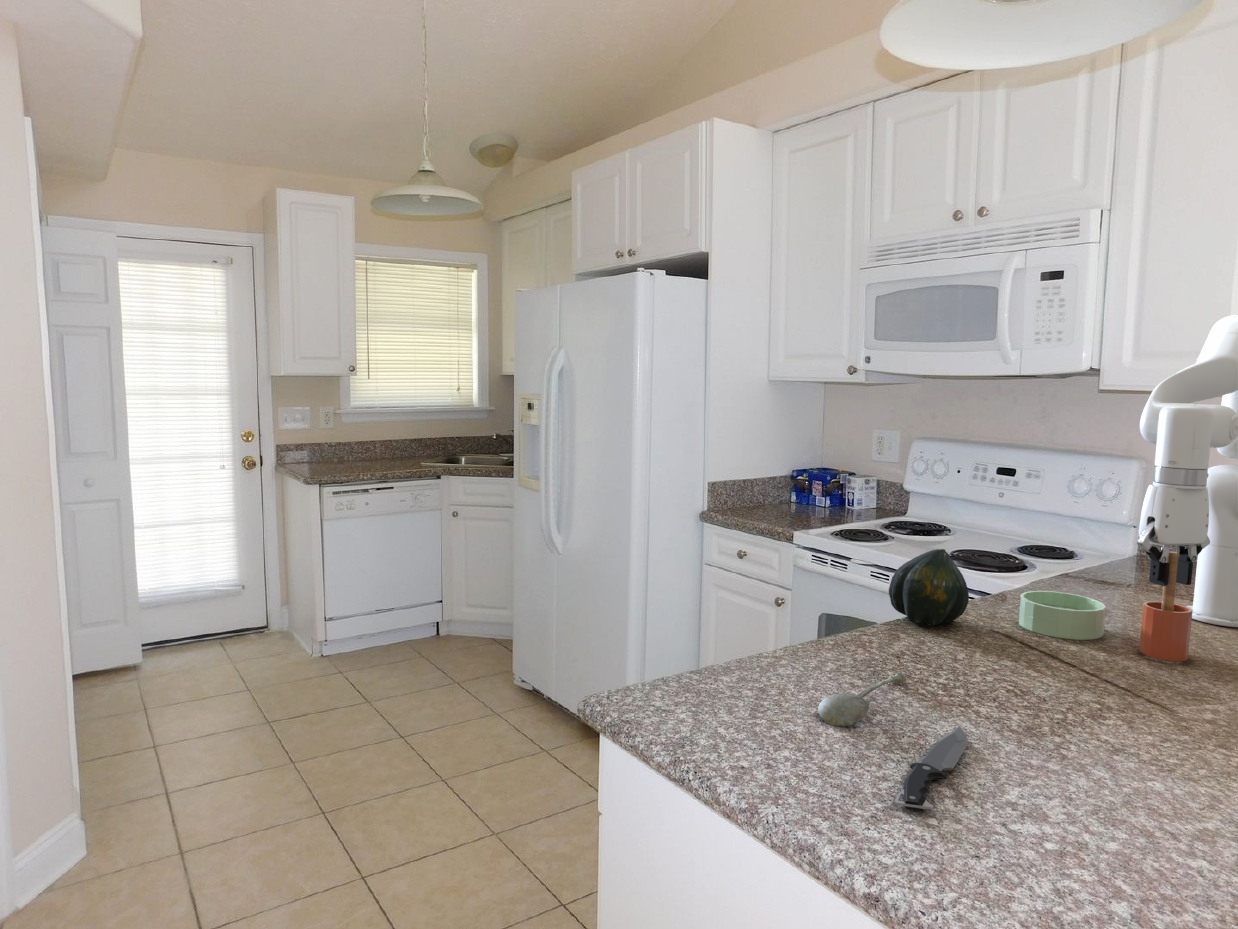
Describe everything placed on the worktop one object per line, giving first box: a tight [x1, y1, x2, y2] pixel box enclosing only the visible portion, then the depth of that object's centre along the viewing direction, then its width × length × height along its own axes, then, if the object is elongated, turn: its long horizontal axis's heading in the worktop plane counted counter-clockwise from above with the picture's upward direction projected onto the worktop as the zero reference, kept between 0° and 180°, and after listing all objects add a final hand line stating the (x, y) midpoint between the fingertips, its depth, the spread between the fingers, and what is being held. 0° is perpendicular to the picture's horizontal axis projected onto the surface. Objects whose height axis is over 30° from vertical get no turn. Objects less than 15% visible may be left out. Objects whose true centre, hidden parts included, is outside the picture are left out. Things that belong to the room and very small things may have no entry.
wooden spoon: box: [1161, 550, 1179, 612], centre depth 140 cm, size 3×2×18 cm, turn 13°
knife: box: [894, 725, 968, 811], centre depth 98 cm, size 26×1×5 cm
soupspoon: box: [817, 672, 906, 727], centre depth 117 cm, size 22×3×7 cm
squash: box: [888, 548, 970, 626], centre depth 159 cm, size 14×15×15 cm
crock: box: [1138, 600, 1193, 662], centre depth 140 cm, size 7×7×9 cm
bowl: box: [1017, 590, 1107, 641], centre depth 154 cm, size 14×14×6 cm
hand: (1169, 582), depth 139 cm, fingers open, 4 cm apart
